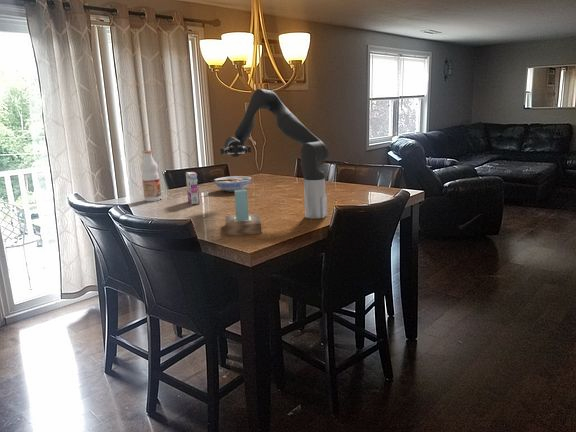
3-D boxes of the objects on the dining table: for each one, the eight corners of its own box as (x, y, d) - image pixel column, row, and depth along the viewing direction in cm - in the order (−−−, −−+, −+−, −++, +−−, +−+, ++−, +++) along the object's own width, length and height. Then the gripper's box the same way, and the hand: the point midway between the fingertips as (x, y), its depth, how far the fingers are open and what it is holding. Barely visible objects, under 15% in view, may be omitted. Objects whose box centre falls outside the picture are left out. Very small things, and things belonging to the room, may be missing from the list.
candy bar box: (200, 204, 238) (197, 173, 234) (191, 205, 236) (188, 174, 232) (196, 200, 248) (194, 171, 244) (187, 201, 246) (185, 172, 242)
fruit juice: (142, 200, 256) (136, 151, 250) (158, 197, 261) (153, 149, 255) (147, 202, 249) (141, 152, 242) (164, 199, 254) (158, 150, 247)
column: (248, 216, 188) (246, 189, 185) (248, 219, 183) (246, 191, 180) (236, 217, 187) (234, 189, 184) (236, 220, 182) (234, 192, 179)
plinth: (258, 221, 195) (257, 212, 194) (261, 233, 178) (261, 222, 177) (226, 224, 194) (225, 215, 193) (226, 235, 176) (225, 225, 175)
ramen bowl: (255, 186, 282) (255, 174, 280) (251, 193, 260) (250, 180, 258) (216, 188, 283) (215, 175, 281) (209, 195, 261) (208, 181, 259)
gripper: (219, 141, 215) (219, 143, 199) (249, 139, 217) (251, 142, 201) (221, 156, 217) (220, 160, 201) (250, 155, 219) (252, 158, 203)
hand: (236, 151), depth 201 cm, fingers open, 8 cm apart
